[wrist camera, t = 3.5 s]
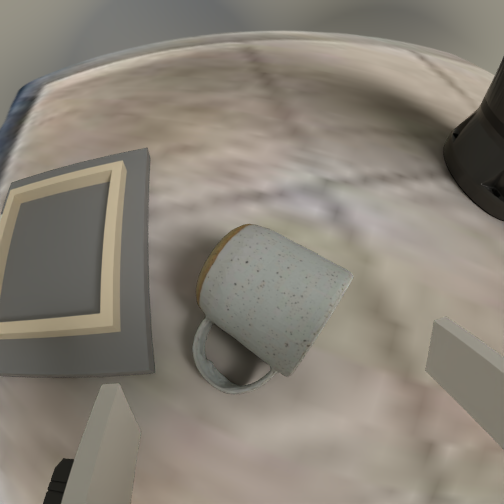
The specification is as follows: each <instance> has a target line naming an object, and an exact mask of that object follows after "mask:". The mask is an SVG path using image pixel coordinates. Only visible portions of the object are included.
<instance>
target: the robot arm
mask: <svg viewBox="0 0 504 504" xmlns="http://www.w3.org/2000/svg"><path fill="white" fill-rule="evenodd" d="M444 158H445V161H446V164H447V166H448V168H449V170H450V172H451V174H452V176H453V177H454V179H455V180H456V182H457V183H458V184H459V186H460V187H461V188H462V189H463V190H464V192H465V193H466V194H467V195H468V196H469V197H470V198H471V199H472V200H473V201H474V202H475V203H476V204H477V205H479V206H480V207H481V208H482V209H484V210H485V211H486V212H488V213H489V214H491V215H493V216H494V217H496V218H498V219H500V220H503V221H504V57H503V59H502V62H501V64H500V66H499V68H498V70H497V72H496V74H495V77H494V79H493V81H492V83H491V85H490V87H489V89H488V91H487V93H486V95H485V97H484V99H483V101H482V103H481V105H480V107H479V108H478V109H477V110H476V111H475V112H474V113H473V114H471V115H470V116H469V117H468V118H467V119H466V120H465V121H463V122H462V123H461V124H460V125H459V126H457V127H456V128H455V129H454V130H453V131H452V132H451V134H450V136H449V137H448V139H447V141H446V143H445V145H444ZM425 371H426V372H427V373H428V374H429V375H430V376H431V377H432V378H433V379H434V380H436V381H437V382H438V383H439V384H440V385H441V386H442V387H443V388H444V389H445V390H446V391H447V392H448V393H449V394H450V395H451V396H452V397H453V398H454V399H455V400H456V401H457V402H458V403H459V404H460V405H461V406H462V407H463V408H464V409H465V410H466V411H467V412H468V413H469V414H470V415H471V416H472V417H473V418H474V420H475V421H476V422H477V423H478V424H479V425H480V426H481V427H482V428H483V429H484V430H485V431H486V432H487V433H488V434H489V435H490V436H491V437H492V438H493V439H494V440H495V441H496V442H497V443H498V444H499V445H500V446H501V447H502V449H503V450H504V357H503V356H502V355H501V354H499V353H498V352H496V351H495V350H494V349H492V348H491V347H490V346H488V345H487V344H485V343H484V342H482V341H481V340H480V339H478V338H477V337H475V336H474V335H473V334H471V333H470V332H468V331H467V330H465V329H464V328H462V327H461V326H460V325H458V324H457V323H455V322H454V321H452V320H451V319H449V318H448V317H446V316H445V317H443V318H440V319H437V320H434V323H433V330H432V336H431V342H430V348H429V353H428V358H427V364H426V368H425ZM140 436H141V430H140V428H139V426H138V424H137V422H136V420H135V417H134V415H133V413H132V411H131V409H130V406H129V404H128V402H127V400H126V397H125V395H124V393H123V390H122V388H121V386H120V383H115V384H102V385H101V388H100V390H99V393H98V395H97V398H96V401H95V403H94V406H93V408H92V411H91V414H90V416H89V419H88V422H87V425H86V427H85V430H84V433H83V436H82V439H81V442H80V445H79V447H78V450H77V453H76V456H75V459H65V458H63V460H62V461H61V462H60V463H59V464H58V465H57V466H56V468H55V469H54V472H53V475H52V478H51V482H50V484H49V487H48V492H47V493H46V496H45V499H44V502H43V504H131V498H132V490H133V482H134V475H135V468H136V461H137V455H138V449H139V442H140Z"/></svg>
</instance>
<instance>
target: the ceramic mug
mask: <svg viewBox="0 0 504 504" xmlns="http://www.w3.org/2000/svg"><path fill="white" fill-rule="evenodd" d="M352 279H353V274H352V273H351V272H350V271H348V270H347V269H345V268H343V267H341V266H339V265H337V264H335V263H333V262H331V261H329V260H328V259H326V258H324V257H322V256H320V255H318V254H317V253H315V252H313V251H311V250H309V249H307V248H305V247H303V246H301V245H299V244H297V243H295V242H293V241H292V240H290V239H288V238H286V237H284V236H283V235H281V234H279V233H277V232H275V231H273V230H270V229H268V228H265V227H261V226H258V225H254V224H245V225H242V226H240V227H237V228H235V229H233V230H232V231H230V232H229V233H228V234H227V235H226V236H225V237H224V238H223V239H222V240H221V241H220V242H219V243H218V244H217V246H216V247H215V248H214V249H213V251H212V252H211V254H210V256H209V257H208V259H207V260H206V262H205V264H204V266H203V268H202V270H201V272H200V275H199V278H198V281H197V286H196V297H197V303H198V305H199V307H200V308H201V309H202V311H203V312H204V313H205V315H206V316H205V318H204V320H203V321H202V322H201V324H200V326H199V327H198V329H197V332H196V334H195V336H194V341H193V348H192V351H193V357H194V361H195V364H196V367H197V369H198V370H199V372H200V374H201V375H202V376H203V378H204V379H205V380H206V381H207V382H209V383H210V384H211V385H212V386H213V387H215V388H216V389H218V390H220V391H222V392H224V393H229V394H242V393H247V392H250V391H253V390H255V389H257V388H259V387H261V386H262V385H264V384H265V383H266V382H267V381H269V380H270V379H271V378H272V377H273V376H274V375H275V374H276V373H278V372H279V373H281V374H283V375H284V376H286V377H289V376H291V375H292V374H293V372H294V371H295V369H296V368H297V366H298V365H299V363H300V362H301V361H302V359H303V358H304V356H305V354H306V353H307V351H308V350H309V349H310V347H311V346H312V344H313V343H314V341H315V340H316V338H317V337H318V335H319V334H320V332H321V331H322V329H323V327H324V326H325V324H326V323H327V321H328V319H329V318H330V316H331V315H332V313H333V312H334V310H335V308H336V307H337V305H338V304H339V302H340V300H341V298H342V297H343V295H344V293H345V291H346V290H347V288H348V286H349V284H350V283H351V281H352ZM213 323H215V324H216V325H217V326H218V327H220V328H221V329H222V330H224V331H225V332H227V333H228V334H230V335H231V336H232V337H234V338H235V339H236V340H238V341H239V342H240V343H241V344H243V345H244V346H245V347H246V348H247V349H249V350H250V351H252V352H253V353H254V354H255V355H257V356H258V357H259V358H261V359H262V360H263V361H264V362H266V363H268V364H269V365H270V371H269V372H268V373H267V374H266V375H265V376H264V377H262V378H261V379H260V380H258V381H256V382H254V383H252V384H248V385H244V386H242V385H241V386H239V385H236V384H234V383H231V382H230V381H229V380H228V379H227V378H225V377H224V376H223V375H222V374H221V373H220V372H219V371H218V370H217V369H216V368H215V367H214V365H213V363H212V362H211V361H210V360H207V358H206V355H205V341H206V339H207V335H208V333H209V331H210V328H211V326H212V325H213Z"/></svg>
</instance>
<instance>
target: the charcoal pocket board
mask: <svg viewBox="0 0 504 504" xmlns="http://www.w3.org/2000/svg"><path fill="white" fill-rule="evenodd" d="M149 174H150V155H149V152H148V148H144V149H138V150H133V151H128V152H124V153H119V154H114V155H110V156H105V157H101V158H97V159H93V160H88V161H84V162H80V163H77V164H73V165H69V166H65V167H62V168H58V169H54V170H51V171H47V172H44V173H41V174H37V175H34V176H31V177H28V178H24V179H21V180H18V181H15V182H12V183H11V185H10V188H9V191H8V194H7V197H6V200H5V203H4V206H3V209H2V212H1V215H0V376H12V377H47V378H67V377H104V376H123V375H138V374H150V373H155V366H154V355H153V344H152V331H151V316H150V297H149V269H148V202H149Z"/></svg>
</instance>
